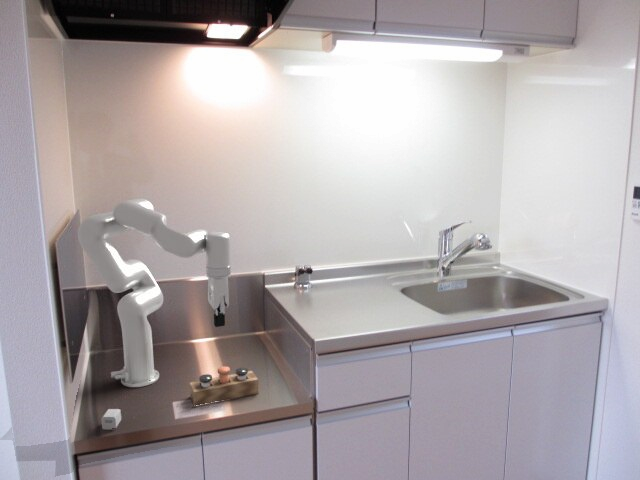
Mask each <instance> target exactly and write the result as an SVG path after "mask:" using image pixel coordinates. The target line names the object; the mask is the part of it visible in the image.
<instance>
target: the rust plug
mask: <svg viewBox="0 0 640 480" xmlns="http://www.w3.org/2000/svg"><path fill="white" fill-rule="evenodd" d="M230 372H231V368H230V366H220V367H218V368H217V373H218V375H219V376H218V377H219V380H220V384H225V383H229V375H230V374H229V373H230Z"/></svg>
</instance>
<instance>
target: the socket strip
mask: <svg viewBox="0 0 640 480" xmlns="http://www.w3.org/2000/svg"><path fill="white" fill-rule="evenodd" d="M246 378H247V379H245V380H240V381H238V380H237V374H236V373H232V374H229V383H225V384H220V380H219V376H216V377H212V380H211V386H210V387H205V388H201V382H200V381H199V380H196V381H192V382H191V381H190V382H189V395H190V399H191V401H193V402H192V404H193V403H194V404H193V406H194V405H195V406H196V405H200V404H205V403H210V404H212V403H211V402H215V401H220V402H223V401H222V400H224V401H229V400H233V399H232V398H234V399H238V398H243V397H246V396H251V395H257V394H259V379H258V377H257V376H256V374H255V373H254V372H253V370H248V373H247V374H246ZM237 397H238V398H237ZM228 399H229V400H228ZM215 403H216V402H215ZM195 406H194V407H195ZM196 407H197V406H196Z"/></svg>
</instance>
